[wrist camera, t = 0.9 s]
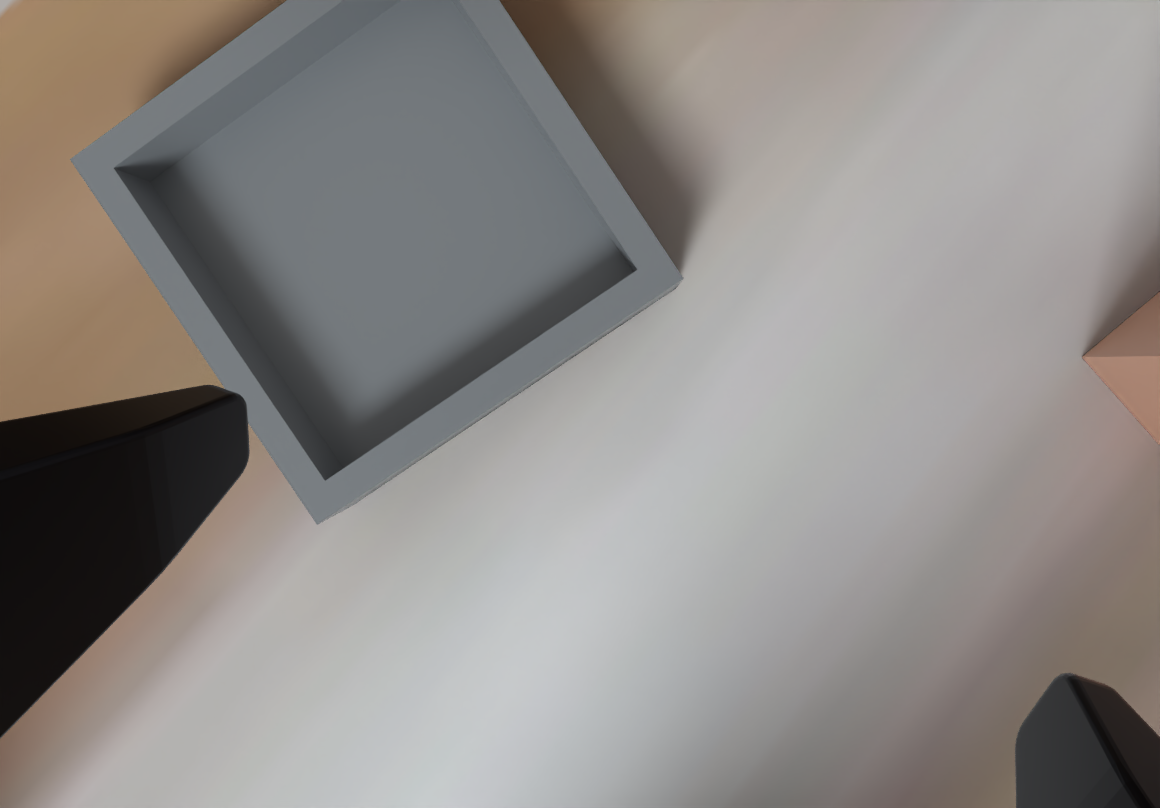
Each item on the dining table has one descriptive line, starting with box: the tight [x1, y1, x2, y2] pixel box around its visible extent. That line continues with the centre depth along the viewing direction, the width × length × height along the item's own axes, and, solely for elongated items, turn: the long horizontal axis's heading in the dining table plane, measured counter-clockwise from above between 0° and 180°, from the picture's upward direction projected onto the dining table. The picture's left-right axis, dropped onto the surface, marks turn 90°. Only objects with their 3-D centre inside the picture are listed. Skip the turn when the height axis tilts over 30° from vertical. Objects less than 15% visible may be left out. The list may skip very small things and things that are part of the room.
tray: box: [70, 0, 684, 524], centre depth 20 cm, size 11×11×2 cm
